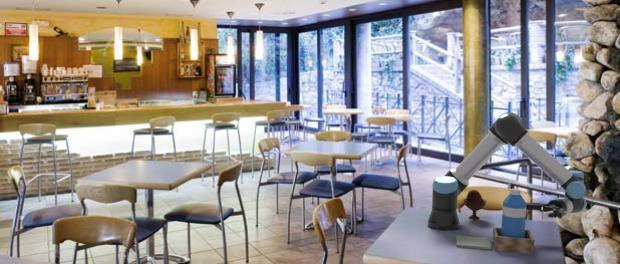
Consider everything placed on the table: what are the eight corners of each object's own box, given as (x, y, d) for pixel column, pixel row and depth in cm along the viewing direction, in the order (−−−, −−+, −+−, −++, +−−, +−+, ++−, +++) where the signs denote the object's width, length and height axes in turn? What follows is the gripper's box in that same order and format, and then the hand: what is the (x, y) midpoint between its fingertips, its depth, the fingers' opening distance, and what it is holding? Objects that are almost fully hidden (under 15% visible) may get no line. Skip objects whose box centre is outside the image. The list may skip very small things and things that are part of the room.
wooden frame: (495, 250, 226) (495, 236, 225) (492, 240, 240) (493, 227, 240) (533, 254, 222) (534, 239, 221) (528, 243, 236) (529, 230, 236)
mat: (456, 246, 230) (456, 244, 230) (456, 237, 244) (456, 235, 244) (491, 249, 227) (491, 247, 227) (489, 240, 240) (489, 238, 240)
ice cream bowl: (486, 221, 271) (488, 192, 269) (463, 220, 273) (465, 191, 271) (484, 216, 281) (485, 188, 279) (462, 214, 283) (463, 186, 282)
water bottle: (513, 251, 225) (516, 192, 222) (495, 245, 233) (498, 188, 230) (528, 248, 229) (532, 190, 226) (511, 242, 237) (514, 186, 235)
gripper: (585, 221, 235) (554, 227, 224) (535, 208, 256) (505, 214, 246) (586, 204, 234) (555, 210, 223) (536, 193, 255) (506, 198, 245)
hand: (528, 212), depth 234 cm, fingers open, 13 cm apart
